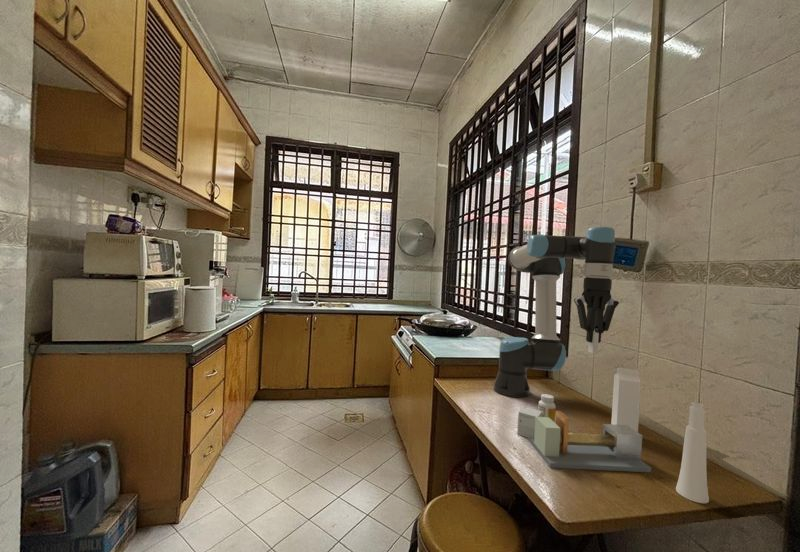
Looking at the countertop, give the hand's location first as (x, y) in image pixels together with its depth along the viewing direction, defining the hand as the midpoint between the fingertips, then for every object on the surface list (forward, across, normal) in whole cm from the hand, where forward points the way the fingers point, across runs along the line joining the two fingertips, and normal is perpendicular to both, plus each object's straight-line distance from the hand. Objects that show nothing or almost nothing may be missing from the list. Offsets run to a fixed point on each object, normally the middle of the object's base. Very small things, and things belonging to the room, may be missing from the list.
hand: (592, 352), depth 105 cm
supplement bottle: (+28, -9, +10) cm, 31 cm away
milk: (+28, +15, +4) cm, 32 cm away
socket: (+26, -17, -10) cm, 33 cm away
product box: (+28, -17, +2) cm, 33 cm away
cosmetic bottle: (+27, +11, -26) cm, 39 cm away
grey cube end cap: (+26, +4, -10) cm, 28 cm away
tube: (+26, -7, -10) cm, 29 cm away
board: (+27, -6, -10) cm, 30 cm away
